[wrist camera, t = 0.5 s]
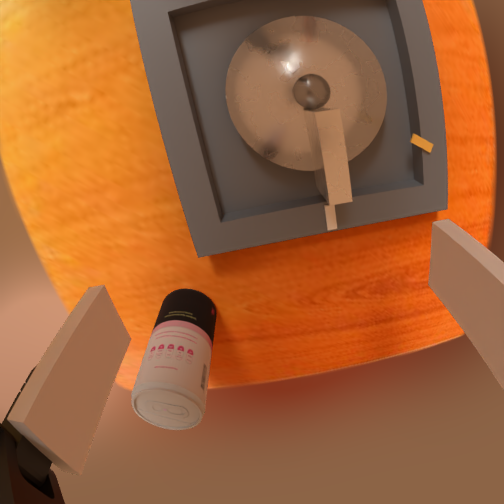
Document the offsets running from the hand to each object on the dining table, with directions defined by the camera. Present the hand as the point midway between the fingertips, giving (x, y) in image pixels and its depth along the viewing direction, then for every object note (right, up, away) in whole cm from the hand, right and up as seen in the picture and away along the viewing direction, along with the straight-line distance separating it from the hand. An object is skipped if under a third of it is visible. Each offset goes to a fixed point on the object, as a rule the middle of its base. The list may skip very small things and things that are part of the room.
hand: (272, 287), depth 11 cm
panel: (+4, +16, +16) cm, 23 cm away
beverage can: (-8, -5, +27) cm, 28 cm away
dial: (+4, +15, +15) cm, 21 cm away
